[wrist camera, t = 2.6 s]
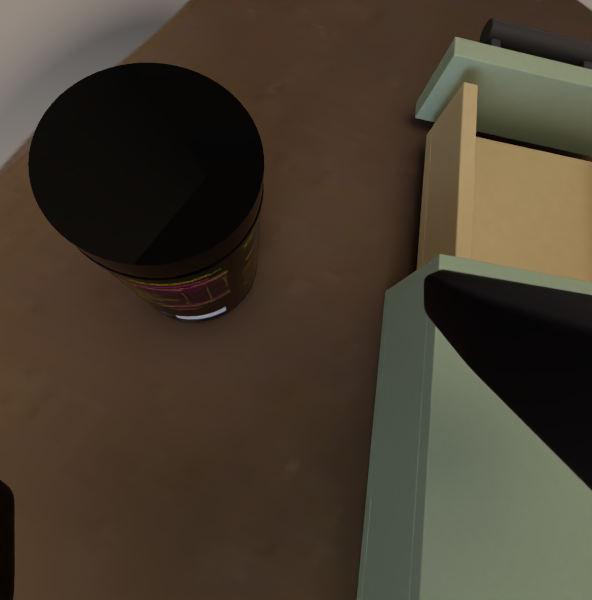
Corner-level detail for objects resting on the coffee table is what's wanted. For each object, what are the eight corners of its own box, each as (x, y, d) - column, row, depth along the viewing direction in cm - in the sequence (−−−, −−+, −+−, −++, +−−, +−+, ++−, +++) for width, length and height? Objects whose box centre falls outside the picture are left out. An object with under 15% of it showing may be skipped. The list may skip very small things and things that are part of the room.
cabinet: (384, 291, 22) (439, 253, 16) (602, 329, 23) (734, 308, 17) (354, 616, 18) (411, 739, 12) (617, 642, 20) (796, 767, 13)
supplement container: (239, 198, 22) (230, 46, 12) (272, 305, 21) (293, 233, 11) (122, 225, 21) (7, 81, 11) (151, 340, 20) (51, 295, 10)
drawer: (420, 50, 25) (458, -25, 21) (594, 91, 27) (668, 29, 22) (396, 337, 21) (438, 323, 16) (609, 373, 22) (706, 369, 17)
